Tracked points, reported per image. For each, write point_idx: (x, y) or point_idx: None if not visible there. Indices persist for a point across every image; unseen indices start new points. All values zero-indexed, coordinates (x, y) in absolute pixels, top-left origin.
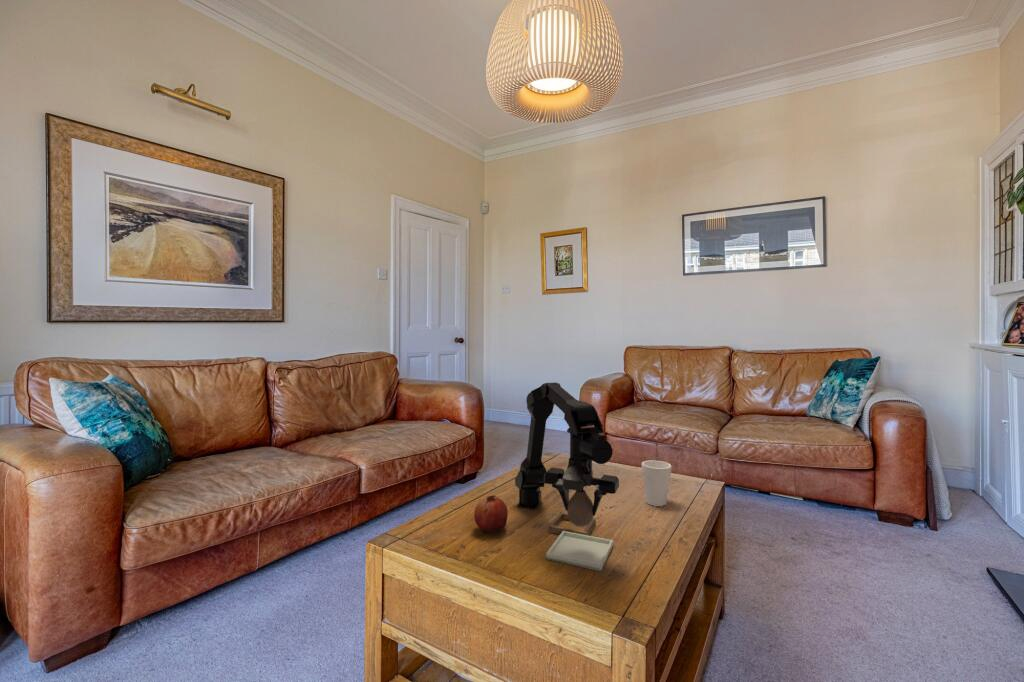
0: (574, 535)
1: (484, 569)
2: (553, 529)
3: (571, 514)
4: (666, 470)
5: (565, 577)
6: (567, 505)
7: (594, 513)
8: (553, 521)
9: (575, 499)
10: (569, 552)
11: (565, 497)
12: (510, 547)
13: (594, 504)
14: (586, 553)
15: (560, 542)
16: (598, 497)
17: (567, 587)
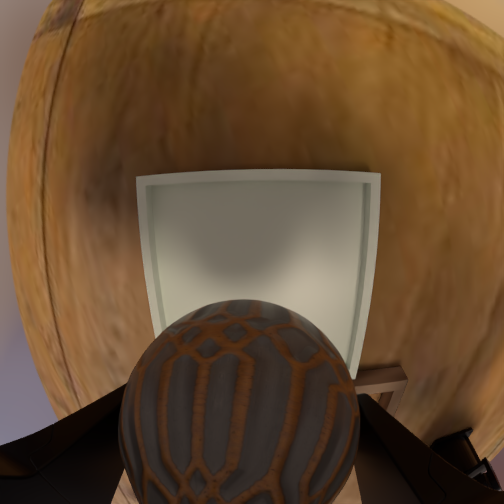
0: None
1: (488, 64)
2: (389, 376)
3: (300, 332)
4: None
5: (255, 75)
6: (361, 426)
7: (121, 389)
8: (393, 410)
9: (263, 483)
10: (296, 248)
11: (402, 475)
12: (490, 214)
13: (76, 430)
14: (227, 269)
15: (351, 311)
16: (2, 455)
17: (228, 29)
